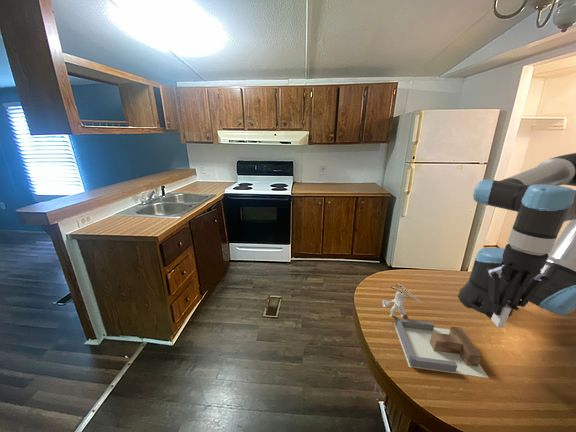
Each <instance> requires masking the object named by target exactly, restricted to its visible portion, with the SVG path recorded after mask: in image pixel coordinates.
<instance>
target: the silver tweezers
mask: <svg viewBox="0 0 576 432" xmlns="http://www.w3.org/2000/svg"><path fill="white" fill-rule="evenodd" d="M397 284H398V285H399V286H401V287H402V288H403V289H404V290H406V291H407V292H408V293H407V292H406V291H404V290H403V289H402V288H401V287H400V288H401V289H402V290H403V291H402V290H401V289H400V288H397V287H396V286H393V285H391V286H393V287H392V288H391V289H393V288H394V289H393V290H395V289H396V290H395V291H397V290H399V291H400V292H402V293H404V296H406V295H407V297H408V296H409V297H408V298H410V299H412V300H414V301H416V302H417V303H419V304H423V301H421V300H420V299H418V297H416V296H415V295H414V294H412V292H410V291H409V290H408V289H407V288H406V287H405V286H403V285H402V284H400V283H397ZM398 285H397V286H398ZM399 286H398V287H399ZM409 293H410V294H411V295H412V296H411V295H410V294H409Z"/></svg>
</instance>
